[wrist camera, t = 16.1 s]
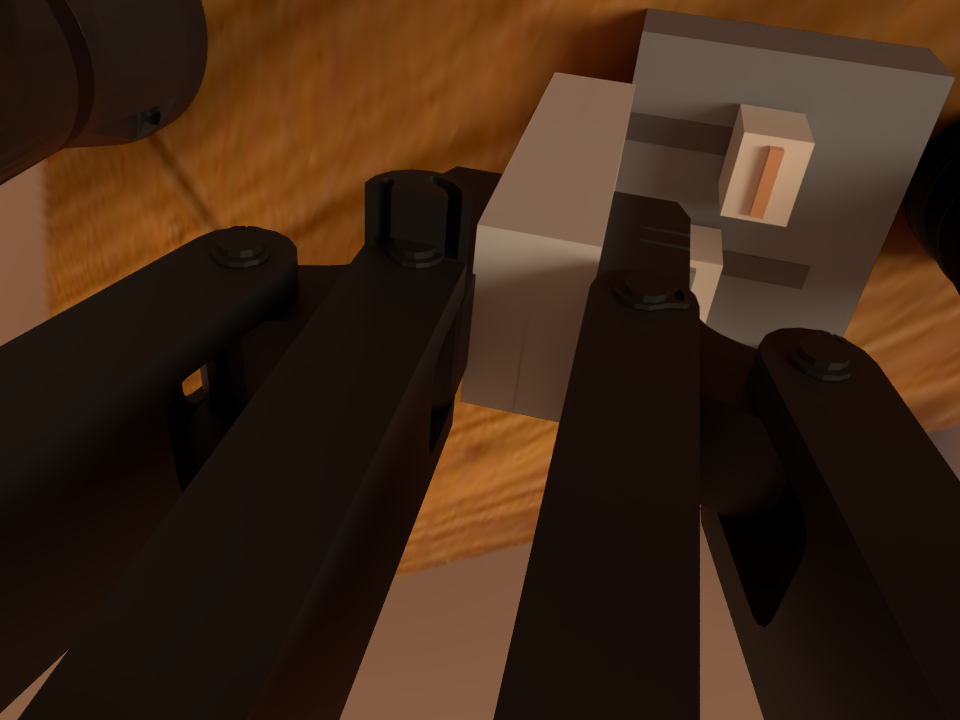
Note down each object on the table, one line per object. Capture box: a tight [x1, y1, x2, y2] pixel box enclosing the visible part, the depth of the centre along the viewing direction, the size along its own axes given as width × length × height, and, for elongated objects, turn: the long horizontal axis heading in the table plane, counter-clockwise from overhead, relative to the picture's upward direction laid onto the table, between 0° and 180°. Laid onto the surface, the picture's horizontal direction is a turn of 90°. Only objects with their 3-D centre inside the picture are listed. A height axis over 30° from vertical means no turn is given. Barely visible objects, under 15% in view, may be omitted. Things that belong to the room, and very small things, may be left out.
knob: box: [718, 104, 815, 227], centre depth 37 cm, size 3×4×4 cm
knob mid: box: [690, 224, 723, 323], centre depth 42 cm, size 3×4×4 cm
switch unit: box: [615, 8, 955, 349], centre depth 45 cm, size 14×22×5 cm, turn 174°
